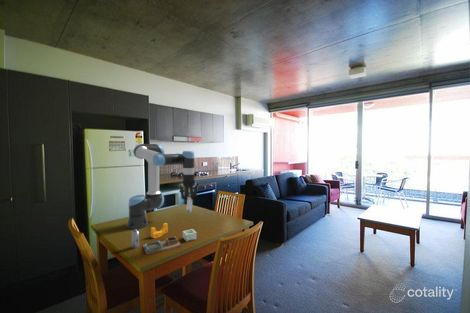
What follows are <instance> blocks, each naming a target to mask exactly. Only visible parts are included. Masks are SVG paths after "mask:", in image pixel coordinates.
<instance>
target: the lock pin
mask: <svg viewBox="0 0 470 313" xmlns="http://www.w3.org/2000/svg"><path fill="white" fill-rule="evenodd" d="M187 200H188V210H187V209H186V213H187V214H191V213H192V212H193V208H192V209H191V196H187Z"/></svg>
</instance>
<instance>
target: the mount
mask: <svg viewBox="0 0 470 313" xmlns="http://www.w3.org/2000/svg"><path fill="white" fill-rule="evenodd" d="M142 247H143V250H144V252H145V254H146V255H147V256H148V255H152V254H156V253H160V252H164V251H167V250H171V249H172V250H173V249H177V248H180V247H182V244H181V243H180V241H179V239H178V237H177V236H175V235H174V236H171V237H170V236H169V237H166V238H165V240H161V241H160V240H156V241H152V242H148V243H145V244H143V245H142Z"/></svg>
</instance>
